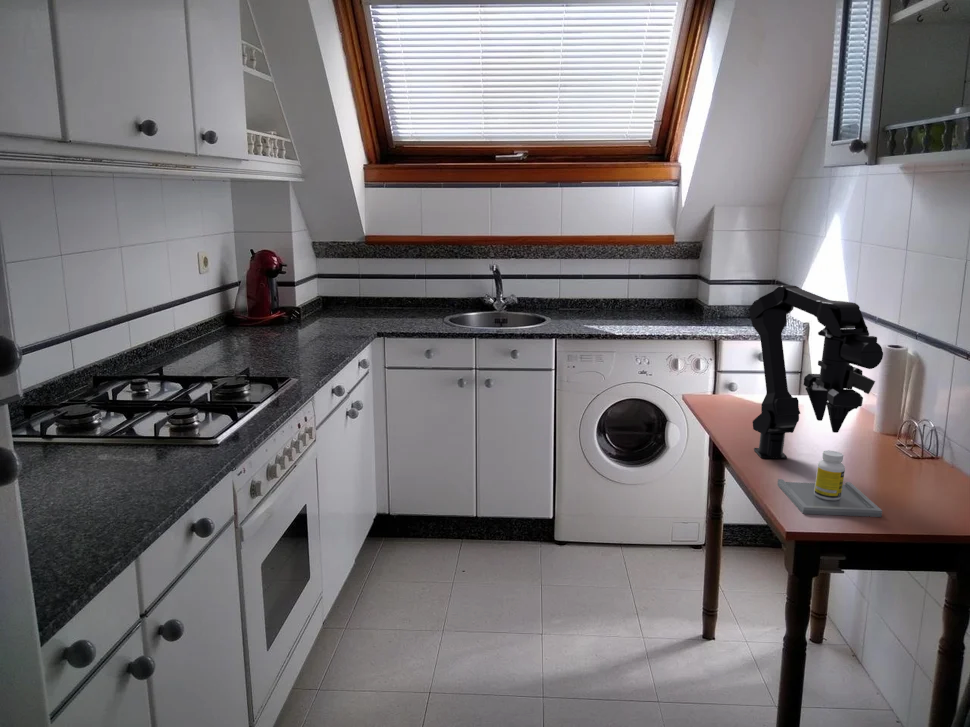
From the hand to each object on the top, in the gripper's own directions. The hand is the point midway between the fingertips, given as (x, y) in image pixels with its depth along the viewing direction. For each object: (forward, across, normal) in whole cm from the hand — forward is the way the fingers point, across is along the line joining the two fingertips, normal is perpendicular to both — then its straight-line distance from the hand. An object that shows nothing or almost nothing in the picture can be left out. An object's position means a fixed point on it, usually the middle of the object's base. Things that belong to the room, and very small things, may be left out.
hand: (827, 426), depth 180 cm
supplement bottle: (+12, -12, +3) cm, 17 cm away
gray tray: (+13, -12, +3) cm, 18 cm away
